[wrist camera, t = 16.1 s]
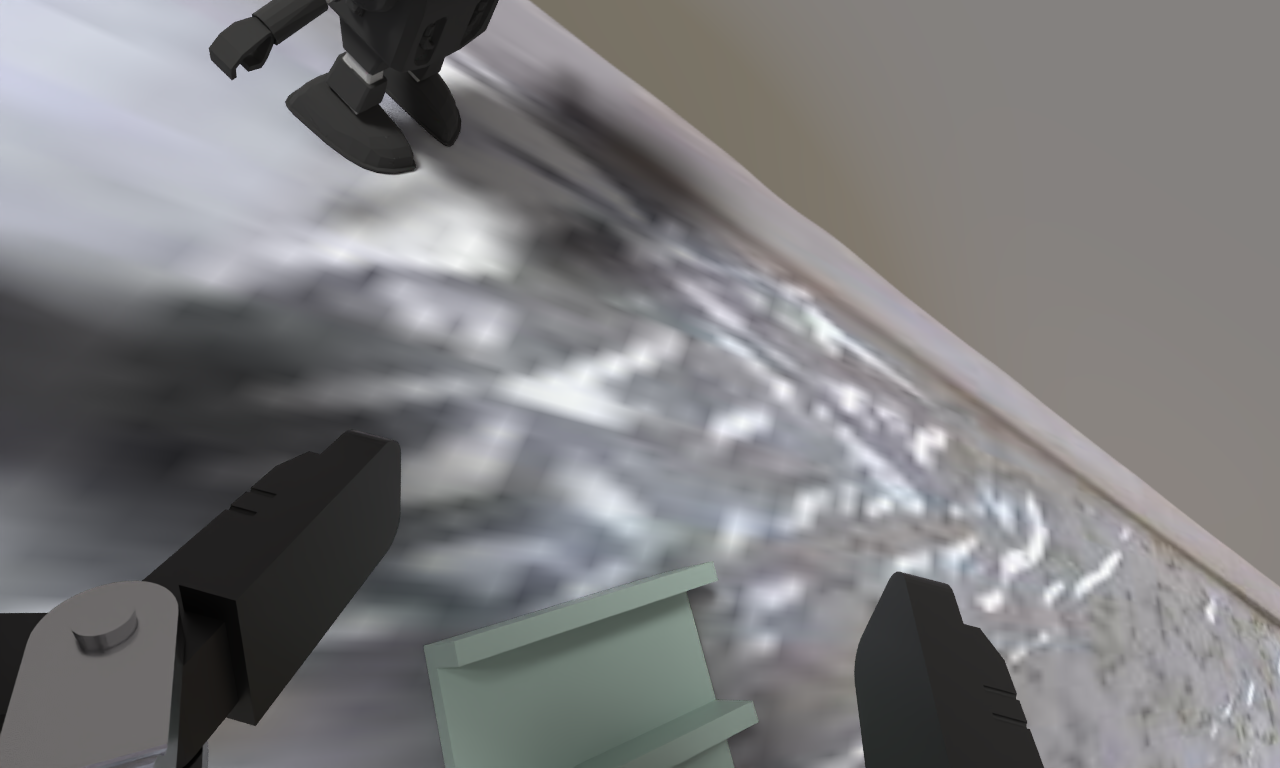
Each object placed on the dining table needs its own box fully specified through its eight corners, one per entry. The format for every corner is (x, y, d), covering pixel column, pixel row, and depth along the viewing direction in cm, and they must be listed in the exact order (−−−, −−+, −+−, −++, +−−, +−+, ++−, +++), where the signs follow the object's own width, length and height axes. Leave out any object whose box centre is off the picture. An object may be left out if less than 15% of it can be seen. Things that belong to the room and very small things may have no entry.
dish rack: (423, 645, 31) (453, 641, 27) (665, 572, 39) (712, 561, 35) (491, 1027, 27) (537, 1079, 24) (742, 858, 35) (803, 878, 32)
